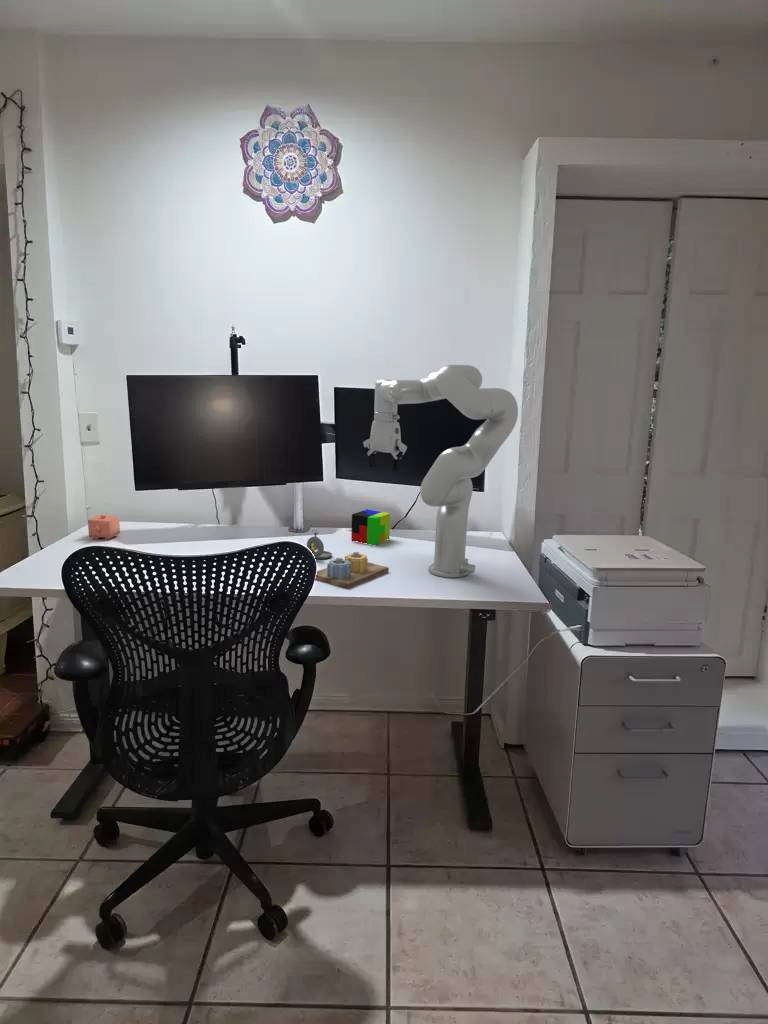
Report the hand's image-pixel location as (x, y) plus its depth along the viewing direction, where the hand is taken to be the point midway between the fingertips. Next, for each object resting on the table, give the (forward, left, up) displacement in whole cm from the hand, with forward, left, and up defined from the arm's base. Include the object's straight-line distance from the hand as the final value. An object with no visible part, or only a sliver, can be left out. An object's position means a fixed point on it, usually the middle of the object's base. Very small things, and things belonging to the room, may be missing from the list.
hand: (383, 468), depth 220 cm
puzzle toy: (+10, -7, -29) cm, 31 cm away
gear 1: (-9, +34, -27) cm, 44 cm away
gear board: (-9, +28, -28) cm, 41 cm away
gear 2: (-9, +26, -27) cm, 38 cm away
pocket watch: (+10, +21, -28) cm, 37 cm away
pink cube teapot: (+81, +54, -29) cm, 101 cm away
